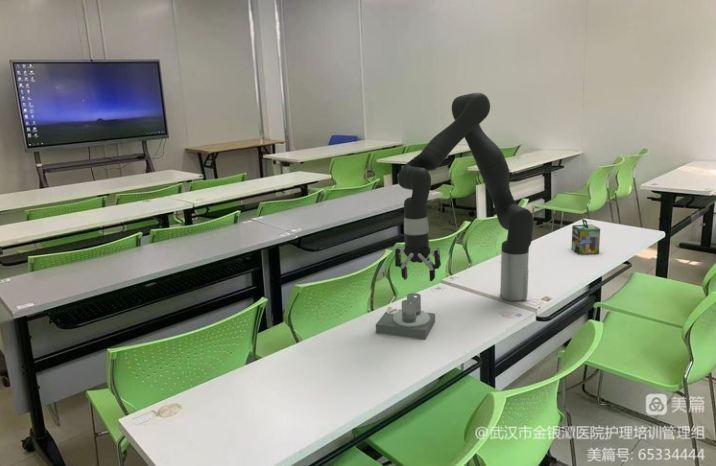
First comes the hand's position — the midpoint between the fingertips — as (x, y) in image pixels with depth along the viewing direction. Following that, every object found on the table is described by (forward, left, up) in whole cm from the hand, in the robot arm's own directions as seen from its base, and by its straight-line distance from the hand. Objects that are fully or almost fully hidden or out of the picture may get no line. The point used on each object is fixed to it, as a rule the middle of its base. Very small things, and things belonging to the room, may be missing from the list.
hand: (418, 279), depth 169 cm
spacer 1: (+1, +2, -11) cm, 11 cm away
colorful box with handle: (-52, -93, -15) cm, 107 cm away
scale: (+3, +4, -15) cm, 16 cm away
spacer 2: (+1, +7, -11) cm, 13 cm away
